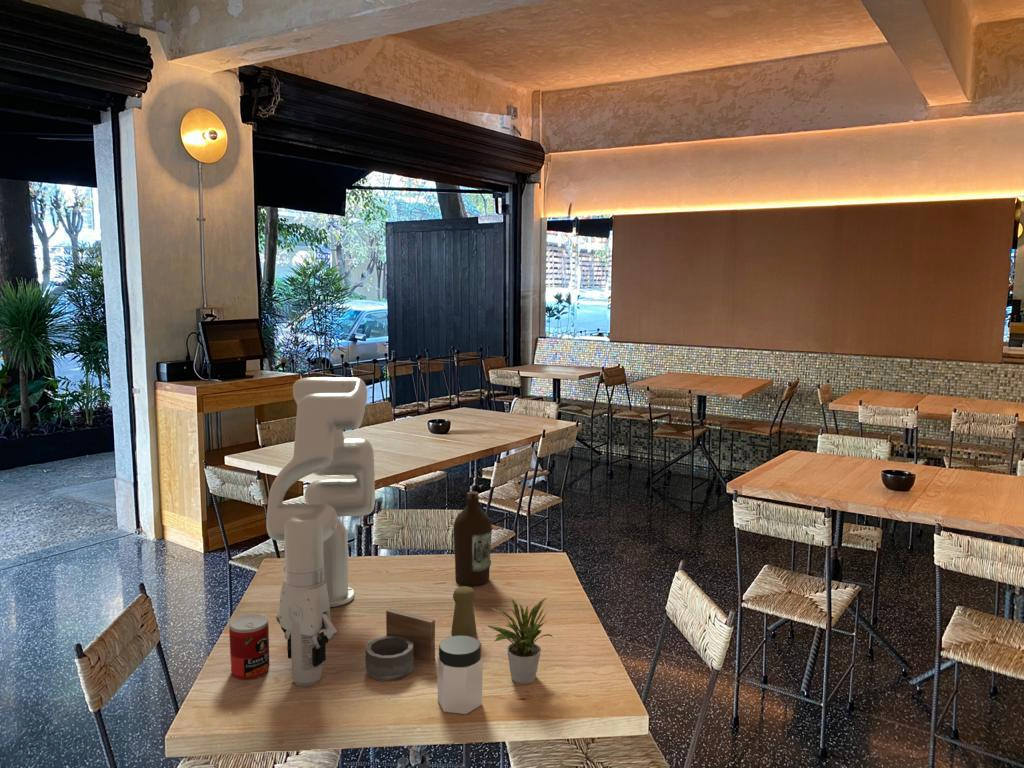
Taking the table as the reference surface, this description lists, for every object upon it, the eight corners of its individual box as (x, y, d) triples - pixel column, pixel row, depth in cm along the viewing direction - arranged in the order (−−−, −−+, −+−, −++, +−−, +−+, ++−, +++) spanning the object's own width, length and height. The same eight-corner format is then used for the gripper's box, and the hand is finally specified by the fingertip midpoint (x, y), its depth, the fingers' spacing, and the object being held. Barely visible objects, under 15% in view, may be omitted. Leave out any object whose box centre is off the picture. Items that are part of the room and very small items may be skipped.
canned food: (248, 684, 152) (246, 633, 151) (222, 673, 156) (220, 623, 155) (277, 668, 158) (276, 619, 157) (252, 658, 163) (251, 610, 161)
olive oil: (445, 579, 208) (445, 492, 205) (474, 570, 216) (474, 485, 213) (470, 590, 201) (471, 500, 198) (499, 580, 208) (500, 493, 205)
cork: (473, 640, 172) (473, 594, 171) (447, 637, 174) (448, 592, 172) (479, 628, 178) (479, 584, 177) (455, 626, 179) (455, 582, 178)
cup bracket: (398, 686, 152) (398, 644, 151) (352, 672, 157) (351, 631, 156) (434, 658, 163) (434, 619, 162) (390, 646, 169) (390, 608, 168)
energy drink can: (312, 669, 158) (311, 602, 156) (327, 680, 154) (326, 611, 152) (286, 679, 154) (284, 610, 152) (301, 691, 150) (299, 619, 148)
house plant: (513, 651, 167) (514, 581, 165) (568, 668, 160) (570, 595, 158) (478, 679, 155) (478, 604, 153) (536, 698, 148) (537, 620, 146)
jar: (460, 686, 152) (460, 630, 151) (490, 700, 147) (490, 643, 145) (428, 704, 145) (428, 646, 144) (458, 720, 140) (458, 659, 139)
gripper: (259, 573, 152) (262, 657, 154) (324, 590, 144) (326, 678, 146) (286, 562, 158) (288, 642, 161) (350, 577, 150) (351, 662, 153)
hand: (306, 659), depth 153 cm, fingers closed on energy drink can, 6 cm apart
